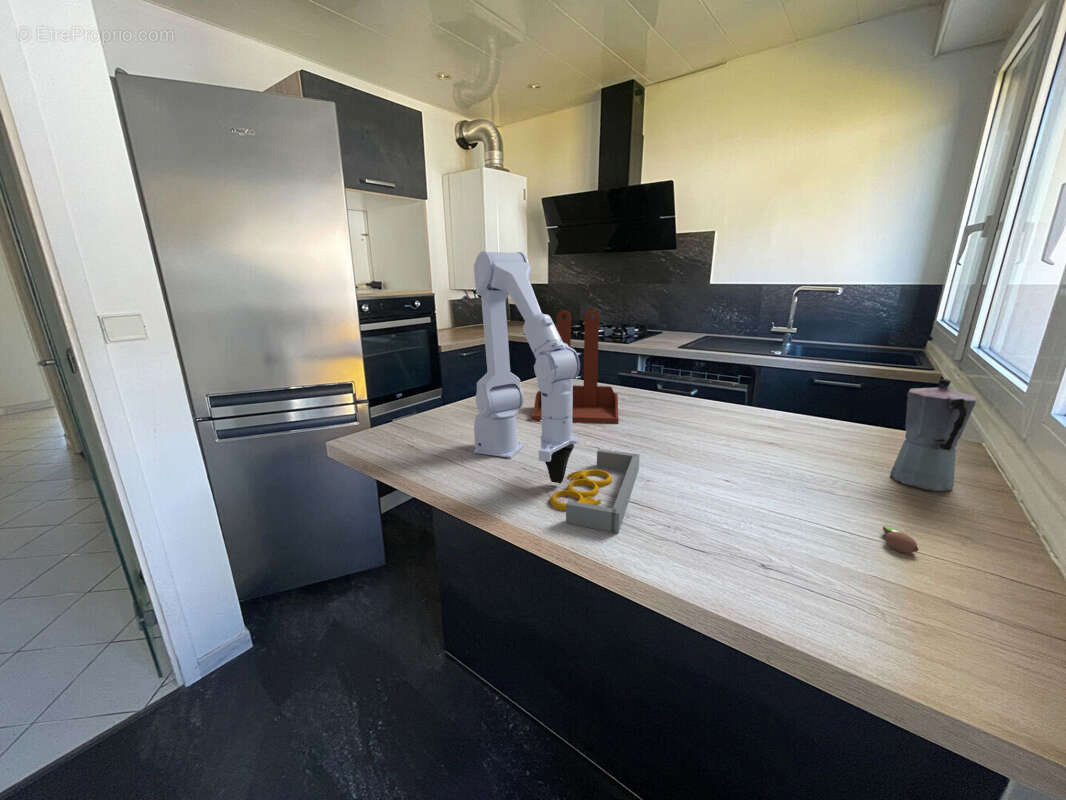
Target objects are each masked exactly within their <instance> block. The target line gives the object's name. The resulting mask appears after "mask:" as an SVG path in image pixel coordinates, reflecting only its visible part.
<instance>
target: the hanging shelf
mask: <svg viewBox="0 0 1066 800" xmlns="http://www.w3.org/2000/svg"><path fill="white" fill-rule="evenodd" d="M562 315H565V317H566V318H564V319H563V318H562ZM590 315H593V316H594V318H590ZM571 317H572V316H571V313H570V312H569V311H568V310H566V309H562V310H559V311H558V313H557V314H556V329H557V331H558V333H559V335H560V337H561V339H562V341H563V343H566V344H567V345H568V346H569V347H570V348H572V347H571V345H572V344H571V340H572V339H571V337H572V335H571V333H572V329H571V328H572V327H571V325H572V322H571V321H572V318H571ZM599 327H600V313H599V312H598V311H596V310H595V309H589V310H587V312H585V315H584V335H583V336H584V338H583V339H584V343H583V385H573V407H572V423H577V422H581V424H605V425H607V424H608V425H609V424H610V425H612V424H613V425H619V420H620V419H619V399H618V398H619V395H618V392H615V391H614V389H613V387H612V386H609V385H607V386H606V385H598V377H599V376H598V375H599V373H598V371H599V370H598V369H599V368H598V365H599V337H600V335H599V334H600V333H599V330H600V328H599ZM530 417H531V419H530V420H542V408H541V391H539V390H537V391H536V393H535V400H534V407H533V411H532V414H531V415H530Z"/></svg>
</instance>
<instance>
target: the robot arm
mask: <svg viewBox="0 0 1066 800" xmlns="http://www.w3.org/2000/svg"><path fill="white" fill-rule="evenodd" d="M473 272H474V273H473V275H474V285H475V293H476V294H477V295H479V296H480V297H481V309H482V320H483V334H484V344H485V345H484V346H485V347H484V348H485V357H486V366H487V370H486V371H487V372H485V374H484V375H483V376H482V377H481V378H480V379H479V380H478V381H477V382H476V394H475V404H476V409H477V410H478V413H477V415H475V417H474V418H475V419H474V425H473V432H474V433H473V435H474V448H475V449H474V450H473V453H474V454H480V455H481V454H482V455H486V456H487V455H488V456H495V457H502V458H508V459H511V458H512V457H513V456H514V455H516V453H518V452H519V450H520V449H521V448H523V447H524V443H522V442H518V430H517V429H518V428H517V415H518V414H519V413H520V409H522V407H523V405H524V402H525V396H524V395H525V394H524V392H523V389H522V385H521V379H520V378H519V377H518V376H517V375H515V374H514V373H512V372H511V365H510V364H511V363H510V362H511V361H510V349H509V347H510V346H509V335H508V333H509V331H508V319H507V307H506V300H507V299H508V297H509V296H510V297H511V300H512V301H513V302H514V305H515V306H516V308H517V310H518V311H519V313H520V315H521V316H522V318H523V320H524V324H523V325H522V332H523V334H524V337H525V338H526V341H527V343H528V344H529V347H530V349H531V351H532V353H533V355H534V358H535V363H534V364H533V369H534V374H535V376H536V380H537V388H538V391H541V408H542V421H541V435H540V448H539V450H538V461H540V462H544V463H545V465H546V468H547V472H548V475H549V479H550V482H551V483H556V484H562V482H563V481H564V478H565V475H566V470H567V465H568V462H569V459H570V456H571V455H572V452H573V450H574V447H575V445H576V444H578V442H579V437H578V436H574V434H573V433H574V432H573V422H572V407H573V386H574V384H573V381H574V380H575V379H576V378H577V377H578V375H579V374H580V369H581V362H580V358H579V356H578V355H579V354H578V353H577V351H576V350H575V349H574V348H572V347H571V348H570V347H569V346H568V345H567V344H566V343H563V341H562V339H561V337H560V335H559V333H558V331H557V326H556V325H555V323H554V321H553V319H552V317H551V316H550V315H549V314H547V313H546V314H544V313H543V312H542V311H541V307H540V305H539V303H538V299H537V297H536V295H535V292H534V289H533V286H532V284H531V282H530V277H531V264H530V263H529V259H528V257H527V256H526V254H525V253H524V252H522V251H516V252H501V251H500V252H495V251H491V252H490V251H485V250H483V251H480V252H479V253H478V255H477V257H476V259H475V261H474V264H473Z"/></svg>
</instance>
